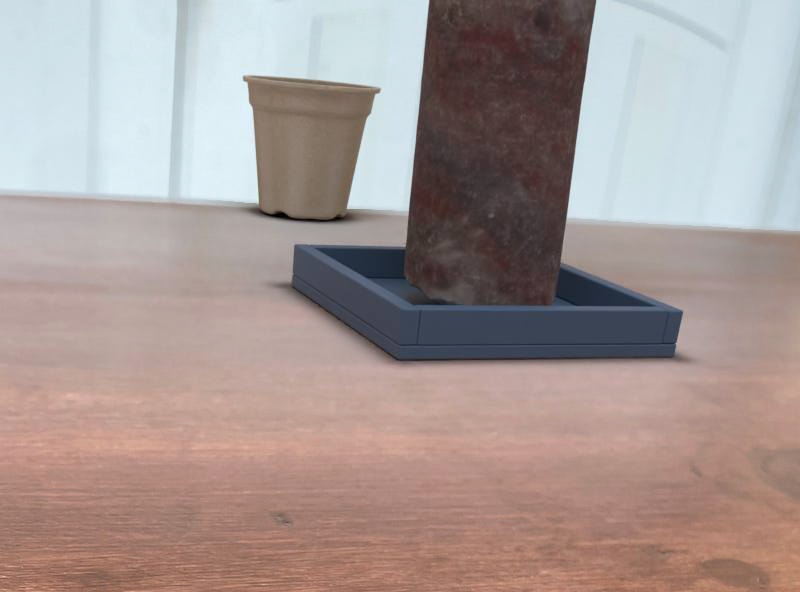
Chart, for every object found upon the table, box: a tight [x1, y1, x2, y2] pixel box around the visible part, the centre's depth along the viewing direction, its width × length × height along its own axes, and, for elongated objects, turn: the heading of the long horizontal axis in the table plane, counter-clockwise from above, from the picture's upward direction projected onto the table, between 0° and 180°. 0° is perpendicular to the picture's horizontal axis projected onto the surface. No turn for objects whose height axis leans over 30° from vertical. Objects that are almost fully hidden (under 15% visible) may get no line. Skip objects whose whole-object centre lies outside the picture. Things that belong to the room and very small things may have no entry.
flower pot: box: [242, 74, 382, 221], centre depth 83 cm, size 9×9×9 cm
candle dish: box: [291, 243, 684, 361], centre depth 57 cm, size 14×15×2 cm
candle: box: [404, 0, 597, 306], centre depth 53 cm, size 8×7×20 cm
